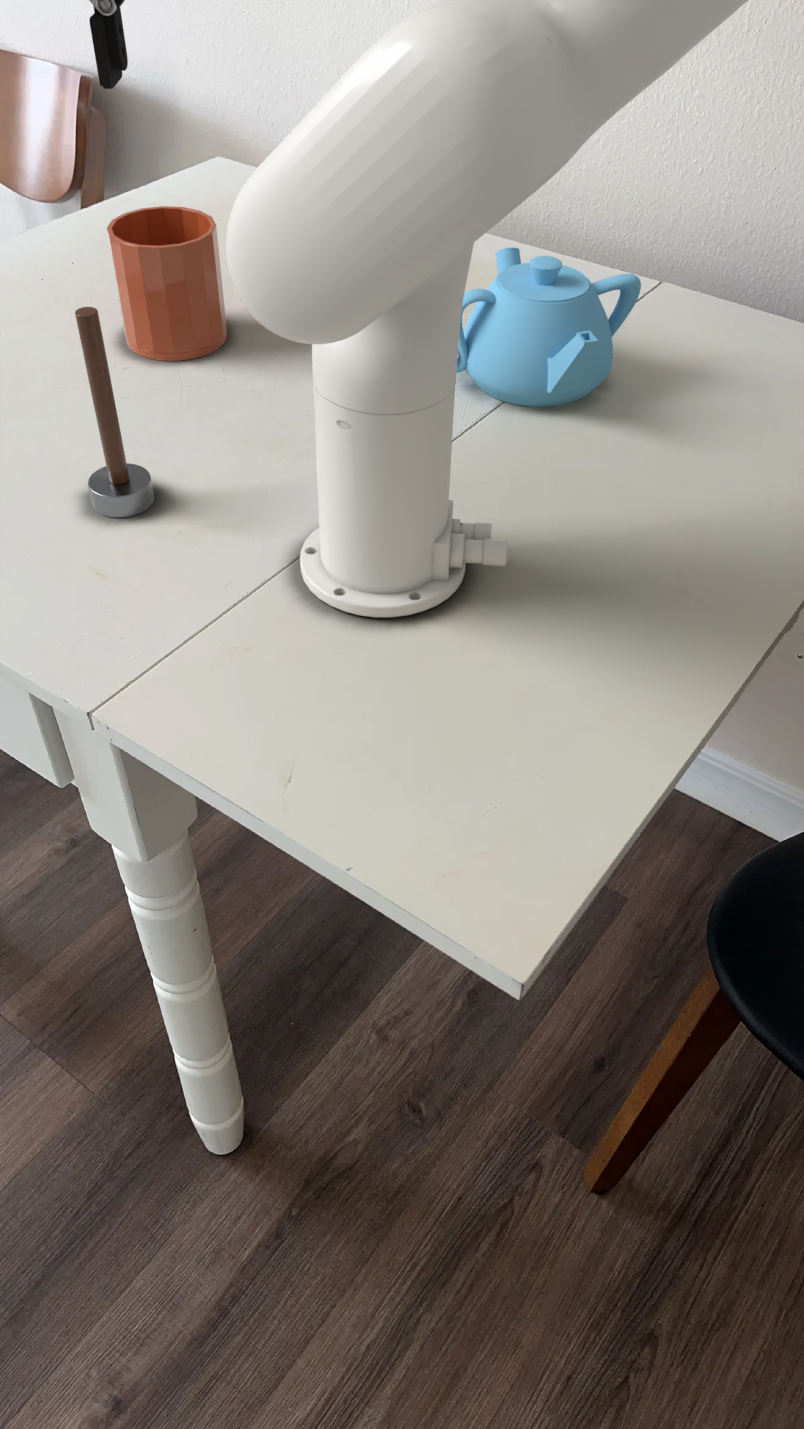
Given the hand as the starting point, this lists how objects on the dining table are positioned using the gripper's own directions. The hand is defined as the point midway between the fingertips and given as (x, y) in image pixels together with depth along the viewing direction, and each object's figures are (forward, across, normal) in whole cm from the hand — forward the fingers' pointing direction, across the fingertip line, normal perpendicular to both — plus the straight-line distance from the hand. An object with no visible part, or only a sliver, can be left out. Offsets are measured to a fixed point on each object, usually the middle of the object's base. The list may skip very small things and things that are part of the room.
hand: (37, 80), depth 69 cm
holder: (+30, 0, +26) cm, 40 cm away
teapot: (+30, +36, +22) cm, 51 cm away
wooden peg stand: (+30, +1, -3) cm, 30 cm away
